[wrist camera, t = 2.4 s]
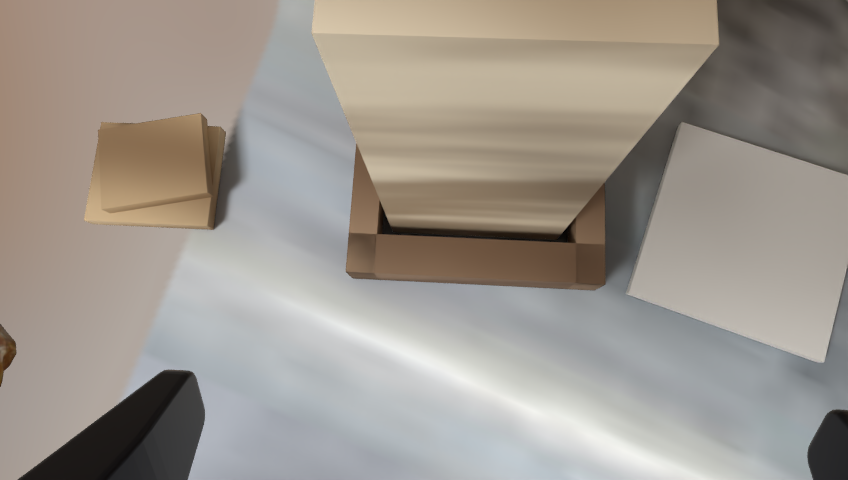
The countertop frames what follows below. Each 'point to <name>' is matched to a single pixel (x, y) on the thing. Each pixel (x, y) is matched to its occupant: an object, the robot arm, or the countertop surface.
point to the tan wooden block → (504, 100)
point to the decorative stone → (6, 351)
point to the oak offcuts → (157, 173)
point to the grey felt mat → (747, 242)
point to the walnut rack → (473, 250)
